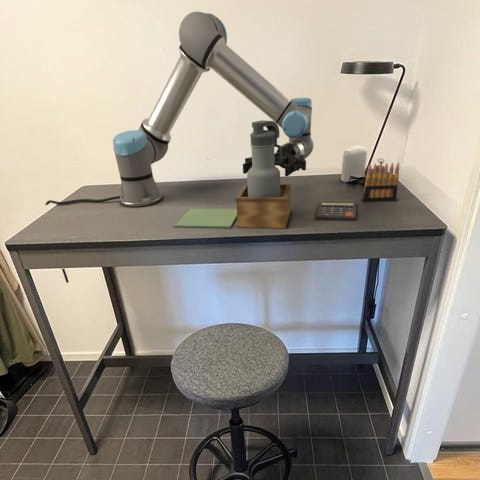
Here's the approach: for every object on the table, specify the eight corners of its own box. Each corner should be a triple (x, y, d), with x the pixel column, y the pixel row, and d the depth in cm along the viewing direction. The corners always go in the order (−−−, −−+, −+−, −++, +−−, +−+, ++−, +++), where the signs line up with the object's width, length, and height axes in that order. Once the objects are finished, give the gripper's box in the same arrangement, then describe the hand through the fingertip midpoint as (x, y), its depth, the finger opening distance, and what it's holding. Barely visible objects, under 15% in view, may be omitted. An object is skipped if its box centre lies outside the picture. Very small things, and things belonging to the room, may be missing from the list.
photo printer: (357, 176, 160) (360, 143, 153) (365, 178, 157) (369, 144, 150) (339, 181, 156) (341, 147, 149) (347, 183, 153) (350, 149, 146)
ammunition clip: (363, 201, 134) (367, 164, 127) (362, 199, 135) (366, 163, 129) (396, 200, 133) (402, 163, 126) (394, 198, 134) (400, 161, 127)
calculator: (316, 215, 122) (320, 200, 134) (316, 218, 122) (319, 203, 134) (355, 216, 119) (355, 201, 131) (355, 219, 120) (355, 204, 132)
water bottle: (264, 211, 131) (262, 117, 115) (287, 218, 125) (288, 119, 109) (242, 220, 125) (237, 123, 110) (265, 227, 119) (263, 125, 104)
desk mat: (174, 227, 124) (174, 225, 124) (190, 210, 137) (189, 208, 137) (230, 228, 120) (230, 226, 120) (240, 210, 133) (240, 208, 133)
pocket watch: (391, 182, 150) (395, 154, 145) (393, 188, 144) (397, 159, 138) (368, 182, 152) (372, 154, 147) (369, 188, 146) (373, 159, 140)
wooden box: (237, 227, 120) (235, 198, 115) (246, 211, 133) (244, 183, 128) (286, 228, 117) (286, 198, 112) (291, 211, 130) (291, 183, 125)
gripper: (325, 168, 129) (304, 186, 114) (256, 164, 139) (228, 180, 124) (327, 143, 125) (305, 158, 110) (255, 141, 135) (226, 155, 120)
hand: (264, 170), depth 117 cm, fingers open, 13 cm apart
